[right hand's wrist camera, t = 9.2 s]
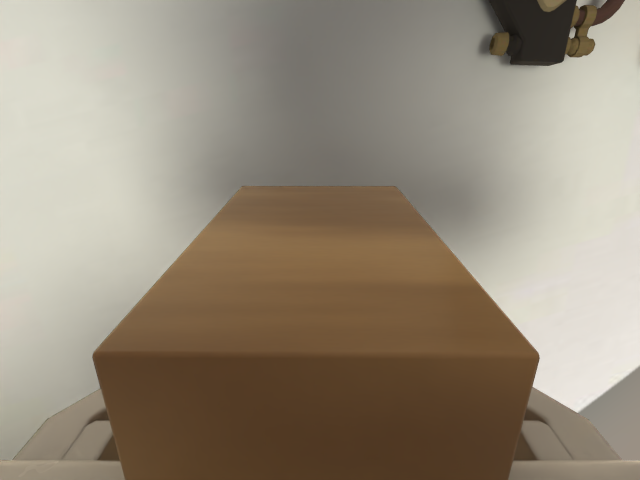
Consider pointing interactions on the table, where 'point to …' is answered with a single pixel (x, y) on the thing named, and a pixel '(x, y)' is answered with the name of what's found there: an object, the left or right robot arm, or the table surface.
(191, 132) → the table surface
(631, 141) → the table surface
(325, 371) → the bar
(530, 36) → the spray gun
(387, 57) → the table surface
